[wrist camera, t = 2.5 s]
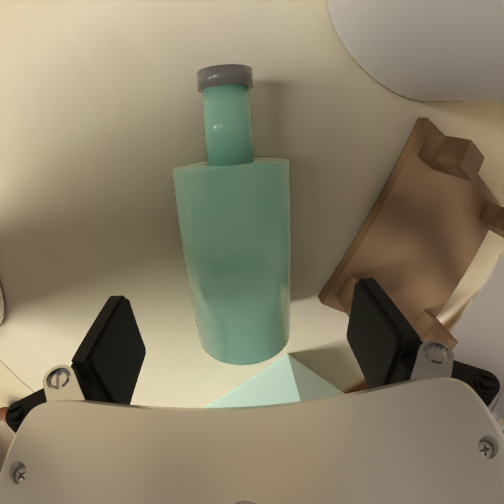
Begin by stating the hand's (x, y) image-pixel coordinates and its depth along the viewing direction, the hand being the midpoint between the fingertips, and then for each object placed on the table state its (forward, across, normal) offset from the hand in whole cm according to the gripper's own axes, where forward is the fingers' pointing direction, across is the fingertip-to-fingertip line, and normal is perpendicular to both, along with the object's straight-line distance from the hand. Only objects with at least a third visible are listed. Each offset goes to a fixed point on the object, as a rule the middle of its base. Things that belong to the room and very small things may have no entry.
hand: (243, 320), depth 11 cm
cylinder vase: (+9, -13, -16) cm, 23 cm away
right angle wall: (+10, -2, +19) cm, 22 cm away
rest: (+9, -15, +2) cm, 18 cm away
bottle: (+9, +1, -3) cm, 9 cm away
